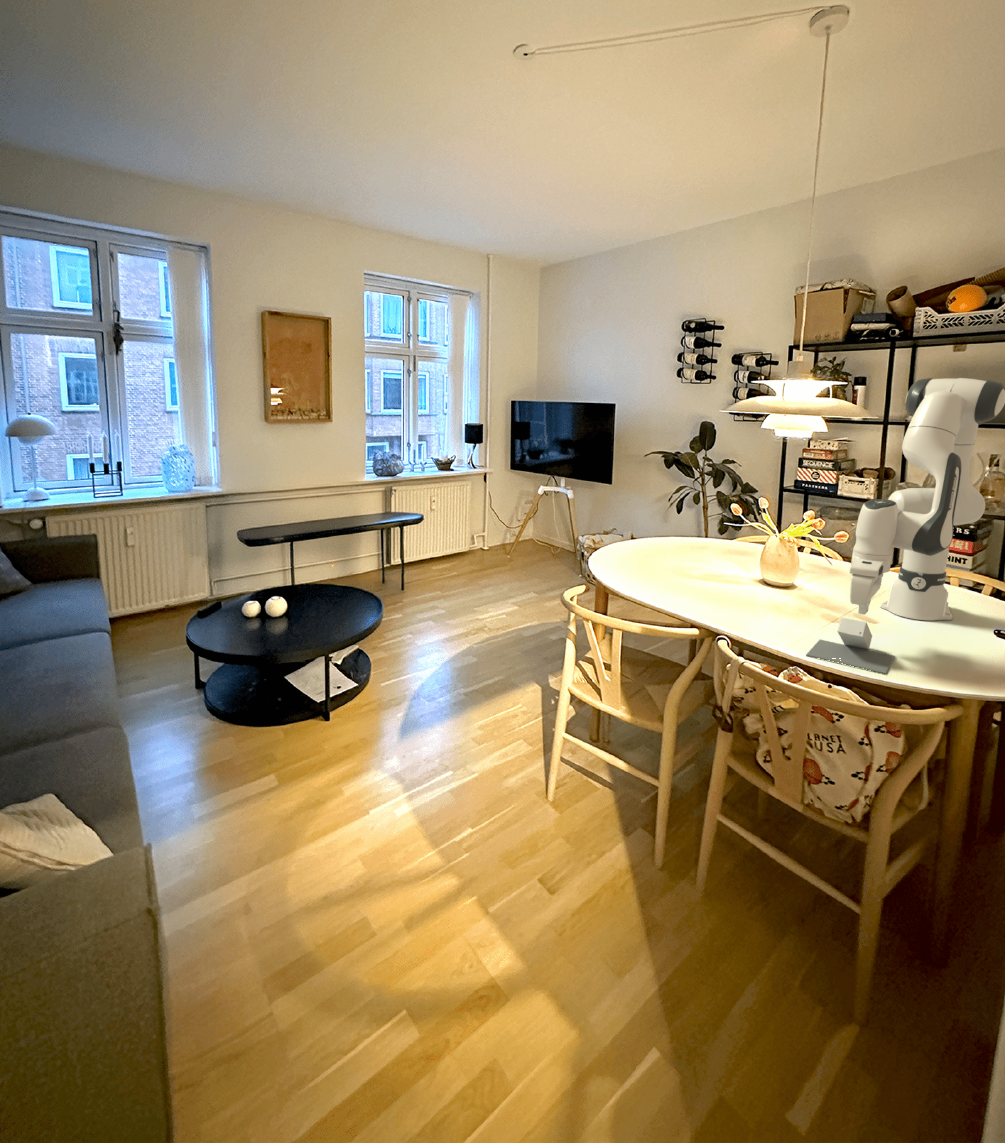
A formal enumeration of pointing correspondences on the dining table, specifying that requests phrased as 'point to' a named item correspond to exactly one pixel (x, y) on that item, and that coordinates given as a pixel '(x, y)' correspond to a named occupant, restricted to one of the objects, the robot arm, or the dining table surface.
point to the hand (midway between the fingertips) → (863, 612)
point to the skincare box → (855, 633)
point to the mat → (852, 656)
